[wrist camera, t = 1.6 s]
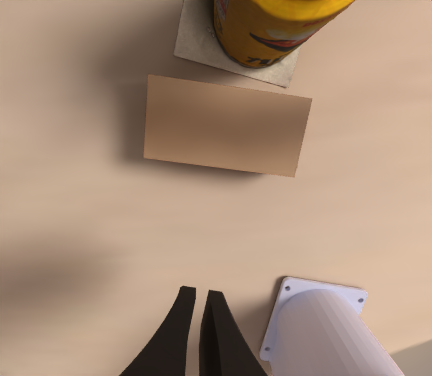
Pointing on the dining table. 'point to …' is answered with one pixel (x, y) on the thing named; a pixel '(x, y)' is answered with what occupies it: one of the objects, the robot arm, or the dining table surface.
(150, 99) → the tan rectangular block
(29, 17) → the dining table surface
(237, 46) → the condiment
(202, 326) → the robot arm
